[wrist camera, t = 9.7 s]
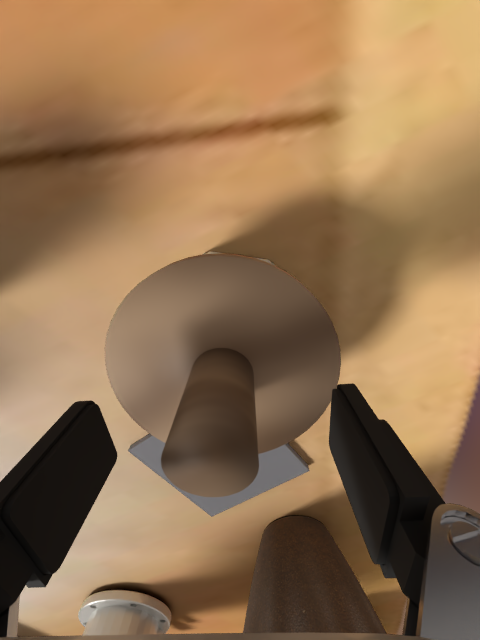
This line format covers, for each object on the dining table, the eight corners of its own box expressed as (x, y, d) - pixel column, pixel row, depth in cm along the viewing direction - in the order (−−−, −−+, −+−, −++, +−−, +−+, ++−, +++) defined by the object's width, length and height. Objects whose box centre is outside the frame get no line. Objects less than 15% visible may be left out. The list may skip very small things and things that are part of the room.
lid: (372, 383, 14) (458, 492, 8) (210, 469, 17) (193, 593, 11) (246, 194, 10) (249, 164, 5) (68, 344, 13) (-61, 436, 8)
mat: (307, 464, 23) (309, 470, 23) (212, 510, 26) (211, 516, 26) (231, 382, 20) (230, 386, 19) (130, 445, 23) (128, 450, 22)
